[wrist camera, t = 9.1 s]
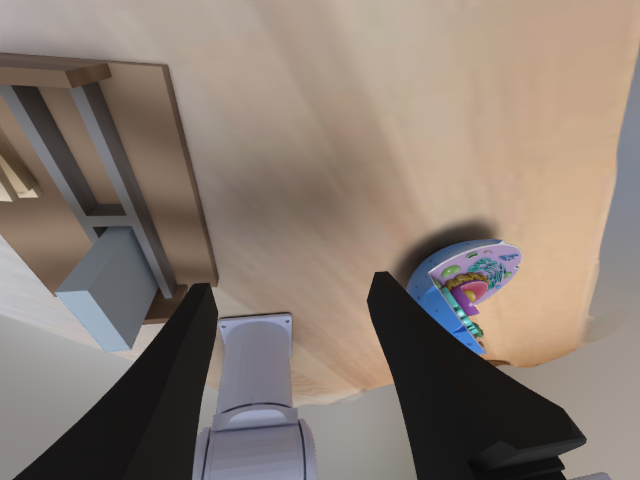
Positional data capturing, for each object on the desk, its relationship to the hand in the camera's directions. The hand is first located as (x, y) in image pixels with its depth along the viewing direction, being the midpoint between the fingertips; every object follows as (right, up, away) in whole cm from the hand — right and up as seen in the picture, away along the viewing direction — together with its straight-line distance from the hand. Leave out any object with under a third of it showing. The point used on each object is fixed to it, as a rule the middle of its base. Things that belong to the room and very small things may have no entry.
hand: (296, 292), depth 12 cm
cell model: (+14, 0, +16) cm, 22 cm away
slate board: (-13, +1, +9) cm, 16 cm away
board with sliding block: (-14, +5, +7) cm, 17 cm away
